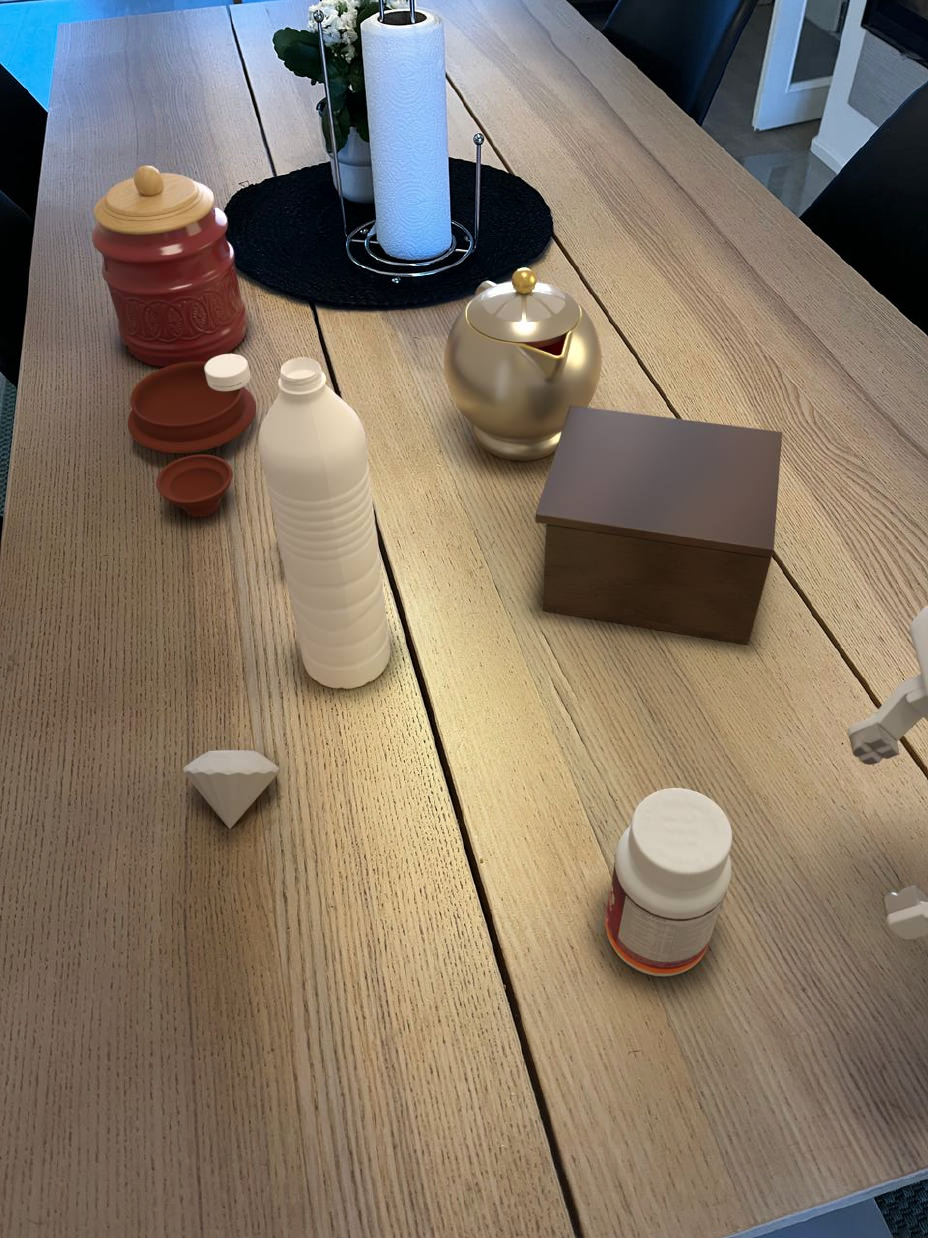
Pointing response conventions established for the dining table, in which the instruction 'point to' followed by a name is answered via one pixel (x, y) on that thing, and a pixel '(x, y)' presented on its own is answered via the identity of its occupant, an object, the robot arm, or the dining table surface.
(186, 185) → the kitchen canister
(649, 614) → the chest
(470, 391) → the teapot
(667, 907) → the pill bottle
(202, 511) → the pottery
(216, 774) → the gemstone
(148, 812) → the dining table surface
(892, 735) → the robot arm
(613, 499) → the lid
